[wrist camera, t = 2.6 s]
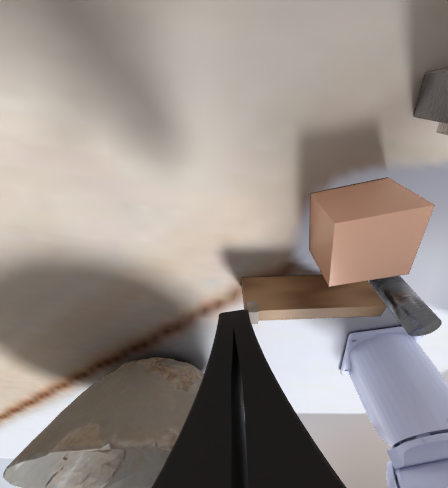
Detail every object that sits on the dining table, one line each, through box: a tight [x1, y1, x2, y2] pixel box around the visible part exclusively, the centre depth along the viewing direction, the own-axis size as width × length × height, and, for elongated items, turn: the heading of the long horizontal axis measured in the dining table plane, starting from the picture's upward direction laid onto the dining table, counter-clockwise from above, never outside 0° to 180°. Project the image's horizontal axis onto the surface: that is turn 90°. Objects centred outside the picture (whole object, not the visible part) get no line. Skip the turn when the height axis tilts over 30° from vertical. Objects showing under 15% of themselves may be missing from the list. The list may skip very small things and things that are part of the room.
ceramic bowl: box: [3, 357, 204, 488], centre depth 26 cm, size 22×23×10 cm
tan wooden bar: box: [242, 275, 386, 324], centre depth 19 cm, size 10×1×4 cm, turn 91°
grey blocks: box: [369, 68, 448, 336], centre depth 14 cm, size 16×2×5 cm, turn 11°
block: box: [309, 177, 435, 287], centre depth 15 cm, size 5×5×4 cm
